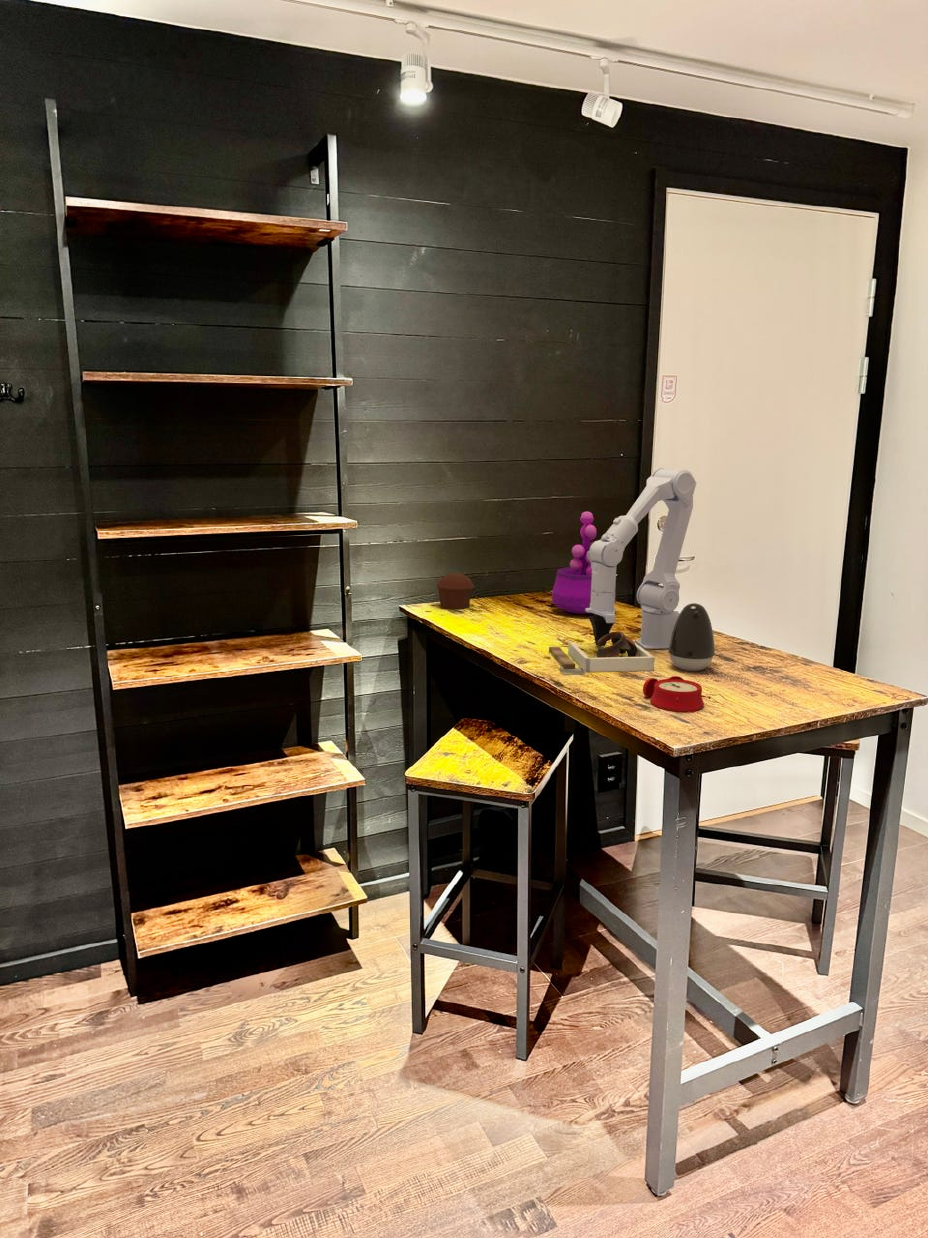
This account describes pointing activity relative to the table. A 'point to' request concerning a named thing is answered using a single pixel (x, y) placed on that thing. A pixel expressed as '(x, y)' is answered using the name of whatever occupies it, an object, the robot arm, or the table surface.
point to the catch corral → (612, 661)
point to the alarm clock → (674, 694)
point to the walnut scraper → (565, 662)
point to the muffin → (455, 591)
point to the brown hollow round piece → (616, 645)
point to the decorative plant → (576, 574)
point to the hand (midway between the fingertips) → (600, 645)
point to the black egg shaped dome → (692, 639)
